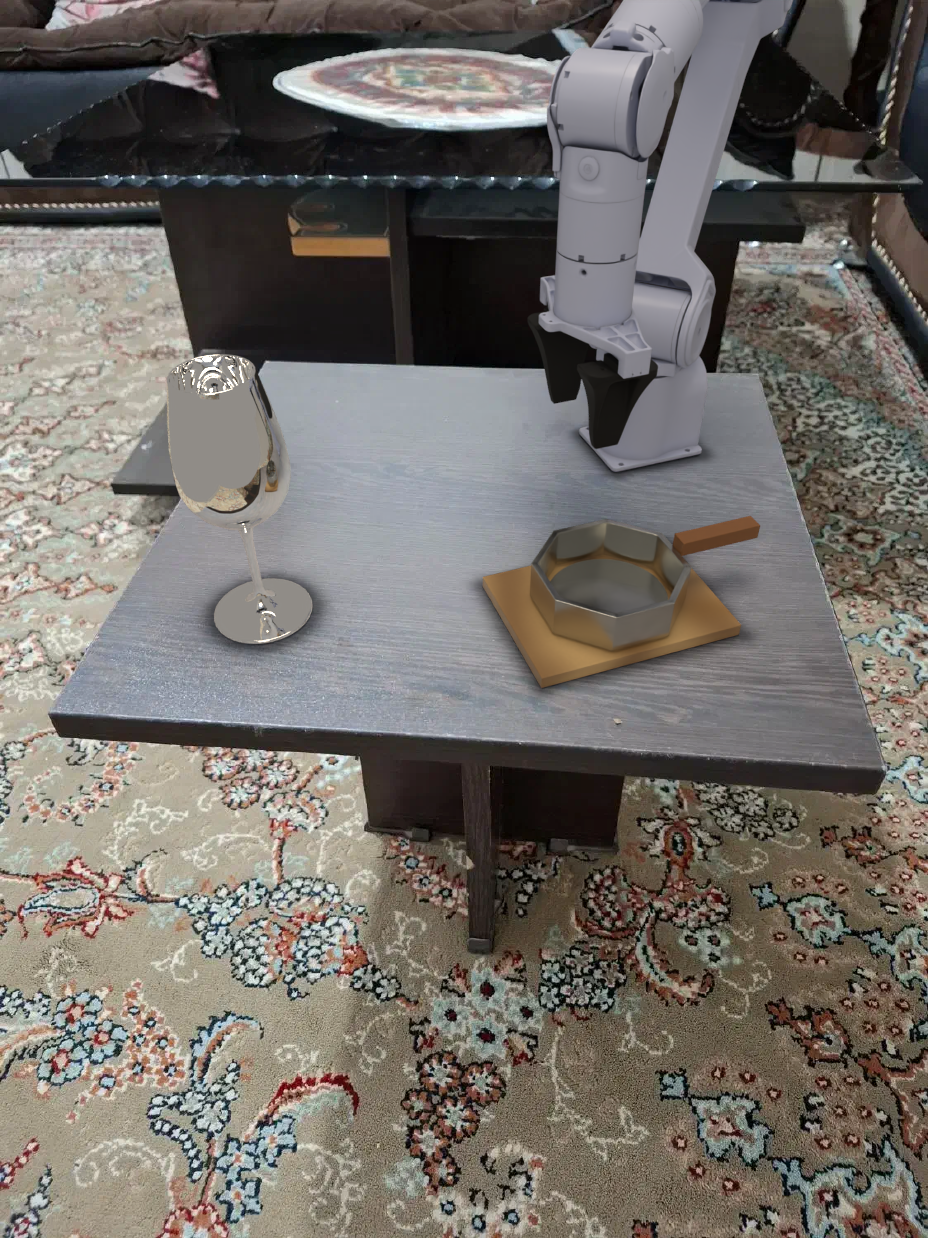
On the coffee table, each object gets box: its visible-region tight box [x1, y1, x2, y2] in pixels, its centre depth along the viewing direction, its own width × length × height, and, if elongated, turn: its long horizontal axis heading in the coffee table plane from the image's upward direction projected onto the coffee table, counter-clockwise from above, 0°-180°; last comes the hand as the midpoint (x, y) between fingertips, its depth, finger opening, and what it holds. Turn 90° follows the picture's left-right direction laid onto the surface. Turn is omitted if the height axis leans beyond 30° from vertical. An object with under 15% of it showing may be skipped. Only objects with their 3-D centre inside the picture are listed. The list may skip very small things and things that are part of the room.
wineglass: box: [166, 353, 314, 645], centre depth 63 cm, size 8×8×20 cm
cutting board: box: [482, 555, 742, 689], centre depth 69 cm, size 16×12×1 cm
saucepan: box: [530, 515, 761, 651], centre depth 68 cm, size 18×11×4 cm, turn 109°
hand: (583, 421), depth 72 cm, fingers open, 7 cm apart
